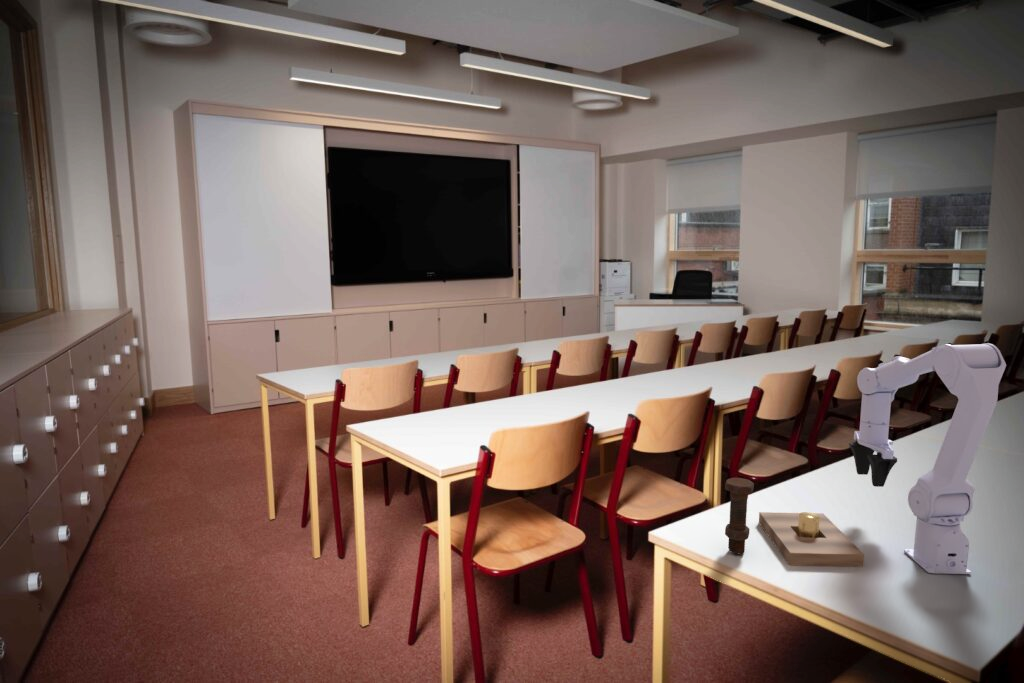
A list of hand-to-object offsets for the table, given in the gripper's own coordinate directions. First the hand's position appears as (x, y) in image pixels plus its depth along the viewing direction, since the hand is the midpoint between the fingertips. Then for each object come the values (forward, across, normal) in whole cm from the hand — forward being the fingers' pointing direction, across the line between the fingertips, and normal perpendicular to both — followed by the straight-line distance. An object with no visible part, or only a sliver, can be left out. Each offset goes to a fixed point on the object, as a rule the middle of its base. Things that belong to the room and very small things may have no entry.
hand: (870, 479), depth 153 cm
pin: (+9, -13, +18) cm, 24 cm away
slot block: (+9, -13, +18) cm, 24 cm away
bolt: (+10, -18, +34) cm, 40 cm away
